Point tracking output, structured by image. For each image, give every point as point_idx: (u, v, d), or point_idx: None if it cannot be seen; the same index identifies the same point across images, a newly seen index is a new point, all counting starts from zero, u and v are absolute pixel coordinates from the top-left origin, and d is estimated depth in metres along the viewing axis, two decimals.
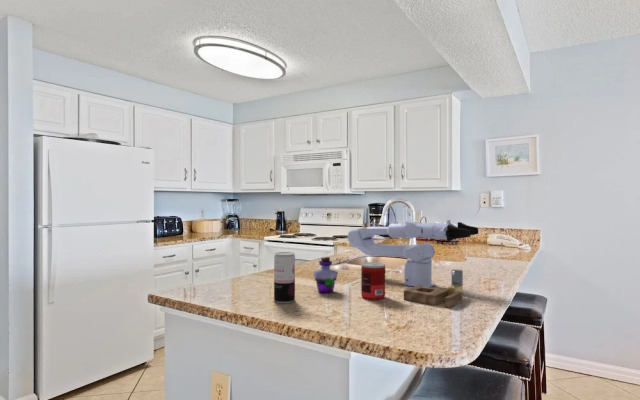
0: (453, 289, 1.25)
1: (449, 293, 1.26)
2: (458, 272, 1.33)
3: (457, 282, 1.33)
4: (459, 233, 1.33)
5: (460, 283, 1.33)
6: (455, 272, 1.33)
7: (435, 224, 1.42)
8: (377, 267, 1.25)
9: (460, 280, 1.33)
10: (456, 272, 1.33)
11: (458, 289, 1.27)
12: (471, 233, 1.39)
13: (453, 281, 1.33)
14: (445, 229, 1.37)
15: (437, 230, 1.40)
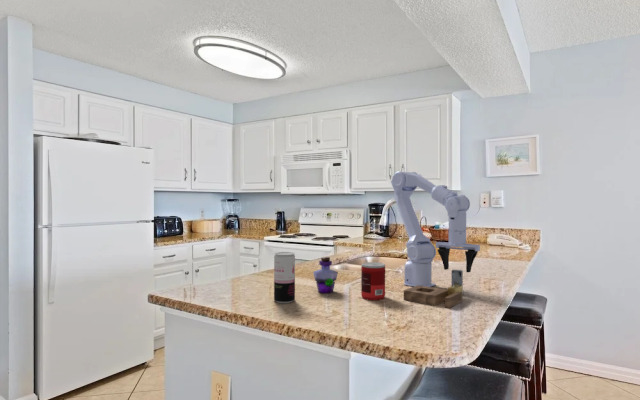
0: (453, 289, 1.25)
1: (449, 293, 1.26)
2: (458, 272, 1.33)
3: (457, 282, 1.33)
4: None
5: (460, 283, 1.33)
6: (455, 272, 1.33)
7: (450, 232, 1.33)
8: (377, 267, 1.25)
9: (460, 280, 1.33)
10: (456, 272, 1.33)
11: (458, 289, 1.27)
12: None
13: (453, 281, 1.33)
14: None
15: None
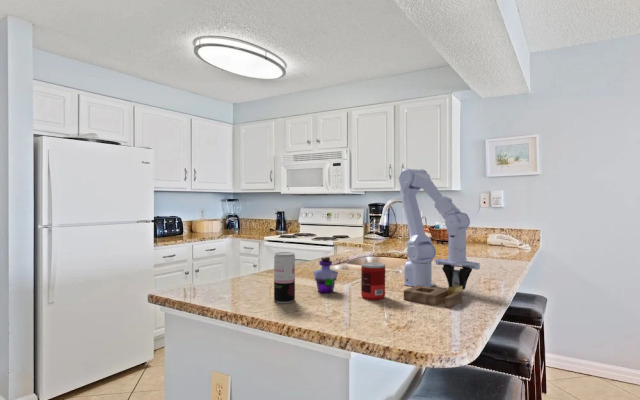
0: (453, 289, 1.25)
1: (449, 293, 1.26)
2: (458, 272, 1.33)
3: (457, 282, 1.33)
4: None
5: (460, 283, 1.33)
6: (455, 272, 1.33)
7: (450, 249, 1.33)
8: (377, 267, 1.25)
9: (460, 280, 1.33)
10: (456, 272, 1.33)
11: (458, 289, 1.27)
12: None
13: (453, 281, 1.33)
14: (444, 262, 1.36)
15: None
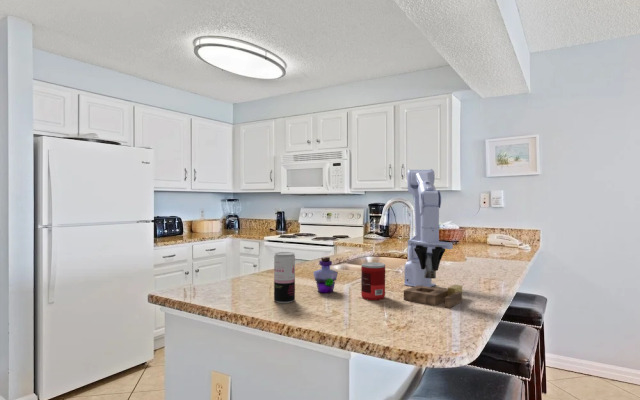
0: (453, 289, 1.25)
1: (449, 293, 1.26)
2: (430, 254, 1.26)
3: (429, 264, 1.26)
4: None
5: (432, 266, 1.26)
6: (427, 254, 1.27)
7: (422, 229, 1.27)
8: (377, 267, 1.25)
9: None
10: (428, 254, 1.27)
11: (458, 289, 1.27)
12: None
13: (425, 263, 1.27)
14: (416, 243, 1.29)
15: None
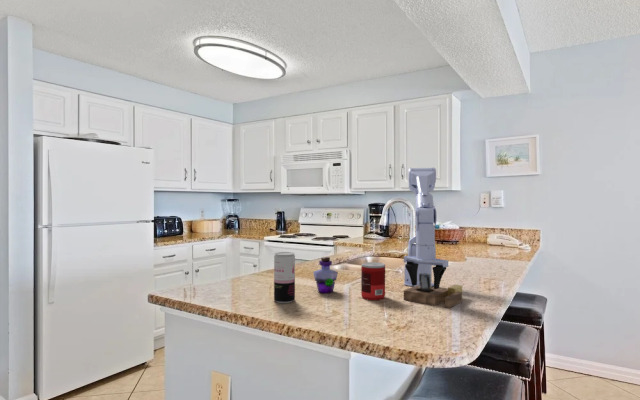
0: (453, 289, 1.25)
1: (449, 293, 1.26)
2: (425, 276, 1.25)
3: (424, 286, 1.25)
4: None
5: (427, 287, 1.25)
6: (422, 276, 1.26)
7: (418, 246, 1.26)
8: (377, 267, 1.25)
9: (427, 284, 1.25)
10: (423, 276, 1.26)
11: (458, 289, 1.27)
12: None
13: (420, 285, 1.26)
14: (412, 260, 1.28)
15: None
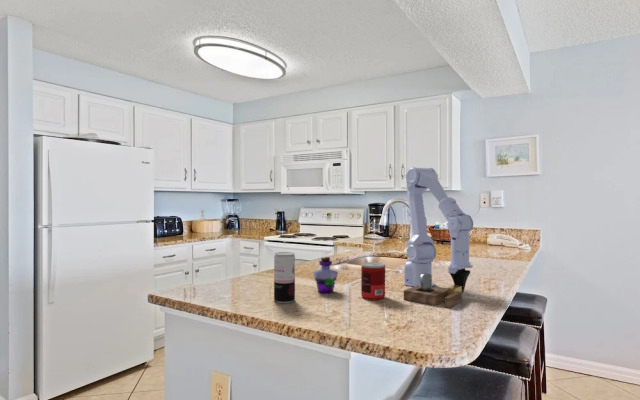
0: (452, 289, 1.25)
1: (448, 293, 1.25)
2: (426, 276, 1.25)
3: (424, 286, 1.25)
4: (458, 282, 1.30)
5: (428, 288, 1.25)
6: (423, 276, 1.26)
7: (466, 253, 1.28)
8: (377, 267, 1.25)
9: (428, 285, 1.25)
10: (424, 276, 1.26)
11: (457, 289, 1.26)
12: None
13: (421, 285, 1.26)
14: (458, 268, 1.27)
15: (458, 257, 1.28)
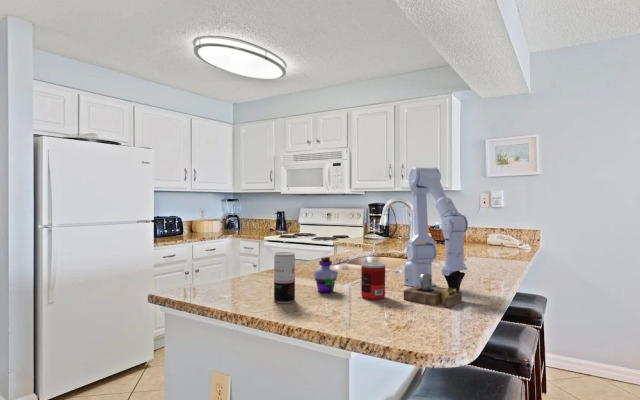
0: (446, 292, 1.21)
1: (442, 296, 1.22)
2: (426, 276, 1.25)
3: (424, 286, 1.25)
4: (453, 284, 1.26)
5: (428, 288, 1.25)
6: (423, 276, 1.26)
7: (460, 254, 1.24)
8: (377, 267, 1.25)
9: (428, 285, 1.25)
10: (424, 276, 1.26)
11: (452, 292, 1.22)
12: (451, 287, 1.27)
13: (421, 285, 1.26)
14: (452, 270, 1.23)
15: (452, 259, 1.24)
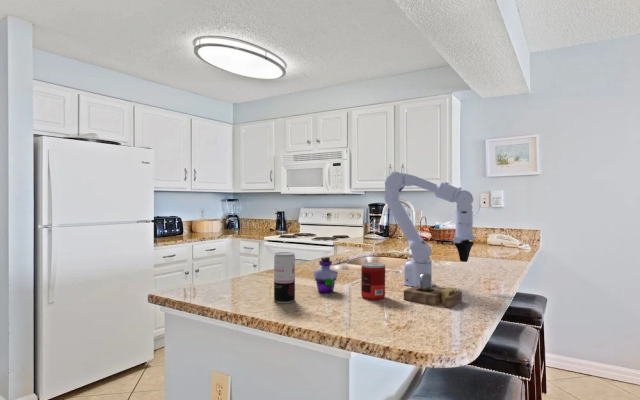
0: (446, 292, 1.21)
1: (442, 296, 1.22)
2: (425, 276, 1.25)
3: (424, 286, 1.25)
4: (463, 252, 1.41)
5: (427, 288, 1.25)
6: (422, 276, 1.26)
7: (469, 225, 1.39)
8: (377, 267, 1.25)
9: (427, 284, 1.25)
10: (423, 276, 1.26)
11: (452, 292, 1.22)
12: None
13: (420, 285, 1.26)
14: (463, 239, 1.38)
15: (462, 229, 1.39)
